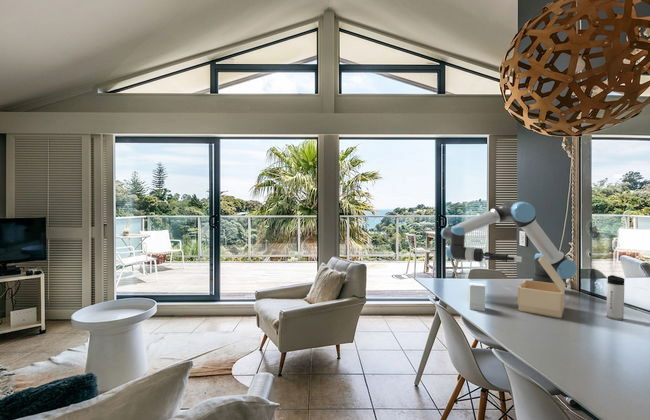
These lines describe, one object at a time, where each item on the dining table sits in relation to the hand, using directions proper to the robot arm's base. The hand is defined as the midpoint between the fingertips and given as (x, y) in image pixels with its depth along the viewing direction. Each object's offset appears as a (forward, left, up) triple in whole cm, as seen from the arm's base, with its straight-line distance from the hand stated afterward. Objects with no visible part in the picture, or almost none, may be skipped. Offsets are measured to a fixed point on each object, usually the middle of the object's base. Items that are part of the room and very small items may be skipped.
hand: (521, 259), depth 182 cm
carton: (-5, +8, -25) cm, 27 cm away
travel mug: (-25, +30, -25) cm, 47 cm away
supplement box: (+26, -5, -25) cm, 36 cm away
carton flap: (-7, +12, -5) cm, 15 cm away
